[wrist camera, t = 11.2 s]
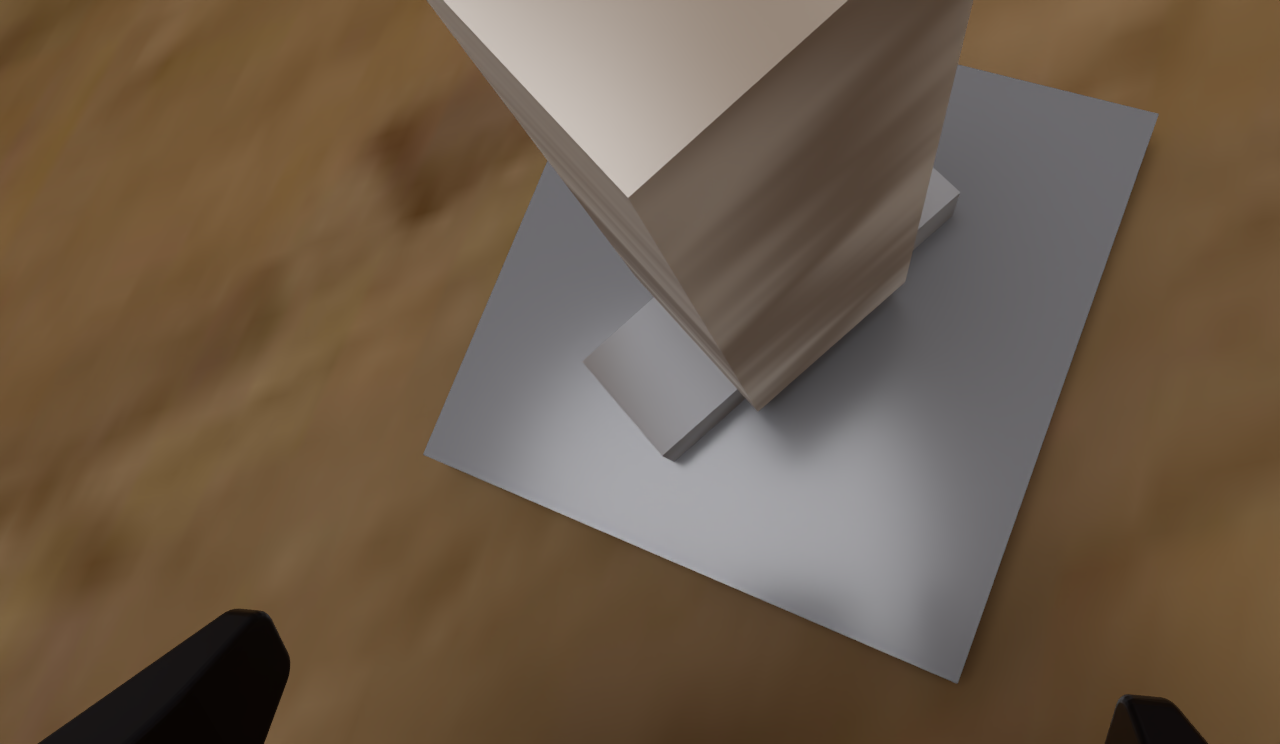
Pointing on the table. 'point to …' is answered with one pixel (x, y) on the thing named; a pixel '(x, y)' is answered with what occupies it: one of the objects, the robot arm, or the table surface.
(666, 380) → the upright block on base
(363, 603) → the table surface
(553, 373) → the slate plate
